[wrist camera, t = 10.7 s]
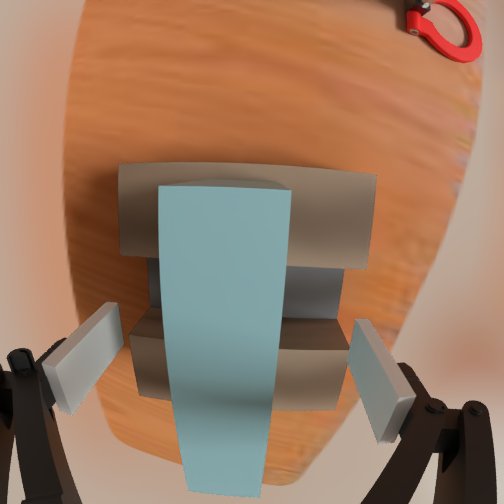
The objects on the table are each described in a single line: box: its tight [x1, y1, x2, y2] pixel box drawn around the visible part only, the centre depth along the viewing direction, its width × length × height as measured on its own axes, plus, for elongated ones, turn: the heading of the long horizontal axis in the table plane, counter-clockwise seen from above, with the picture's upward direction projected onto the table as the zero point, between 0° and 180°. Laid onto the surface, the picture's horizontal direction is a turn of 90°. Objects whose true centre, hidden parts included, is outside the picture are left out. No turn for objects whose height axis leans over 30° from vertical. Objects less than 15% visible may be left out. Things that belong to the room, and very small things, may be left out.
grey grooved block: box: [118, 162, 377, 411], centre depth 23 cm, size 18×16×6 cm
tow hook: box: [405, 0, 482, 63], centre depth 12 cm, size 8×13×9 cm
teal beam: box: [158, 179, 292, 498], centre depth 15 cm, size 16×4×9 cm, turn 177°
